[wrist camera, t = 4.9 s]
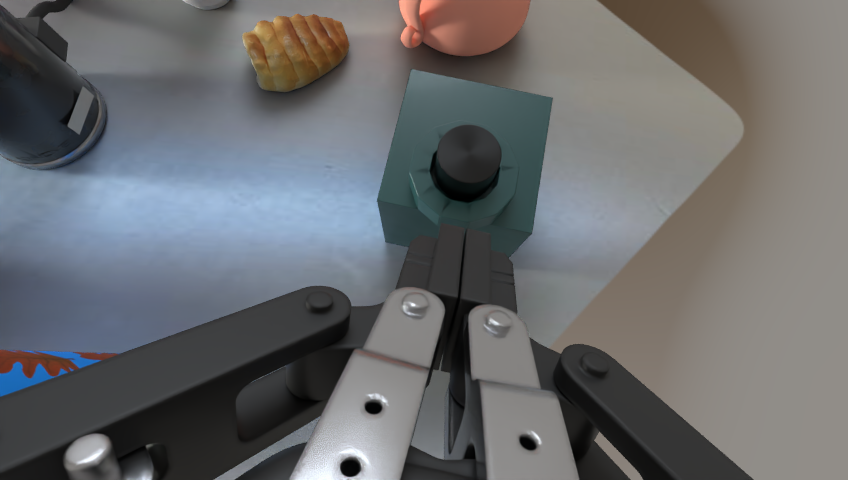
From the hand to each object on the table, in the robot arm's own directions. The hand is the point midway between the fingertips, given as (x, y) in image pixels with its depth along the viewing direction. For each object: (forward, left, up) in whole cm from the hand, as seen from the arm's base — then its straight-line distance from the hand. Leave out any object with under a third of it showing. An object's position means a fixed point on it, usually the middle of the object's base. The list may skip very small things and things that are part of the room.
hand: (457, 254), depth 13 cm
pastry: (-28, -2, -24) cm, 36 cm away
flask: (-9, +6, -23) cm, 26 cm away
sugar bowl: (-26, +14, -24) cm, 38 cm away
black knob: (-7, +5, -12) cm, 14 cm away
